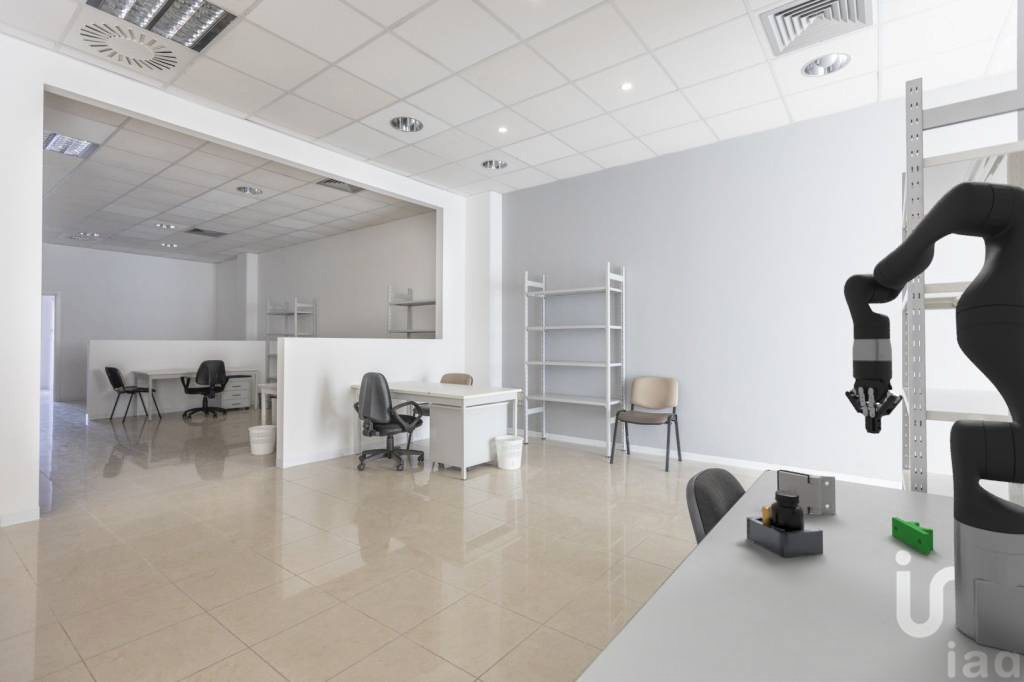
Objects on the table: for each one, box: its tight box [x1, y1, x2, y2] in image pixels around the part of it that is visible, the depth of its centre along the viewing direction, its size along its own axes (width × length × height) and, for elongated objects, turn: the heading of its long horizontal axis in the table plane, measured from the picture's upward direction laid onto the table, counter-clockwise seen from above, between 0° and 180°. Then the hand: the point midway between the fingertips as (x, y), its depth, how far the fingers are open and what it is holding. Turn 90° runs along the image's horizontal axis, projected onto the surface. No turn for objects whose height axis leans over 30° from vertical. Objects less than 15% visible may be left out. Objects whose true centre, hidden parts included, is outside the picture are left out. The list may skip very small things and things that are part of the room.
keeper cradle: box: [746, 505, 824, 559], centre depth 114 cm, size 10×11×9 cm
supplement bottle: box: [769, 490, 805, 532], centre depth 114 cm, size 7×7×12 cm
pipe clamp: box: [891, 516, 934, 555], centre depth 115 cm, size 11×4×5 cm, turn 173°
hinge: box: [776, 469, 837, 516], centre depth 139 cm, size 14×5×10 cm, turn 49°
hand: (873, 433), depth 117 cm, fingers closed
